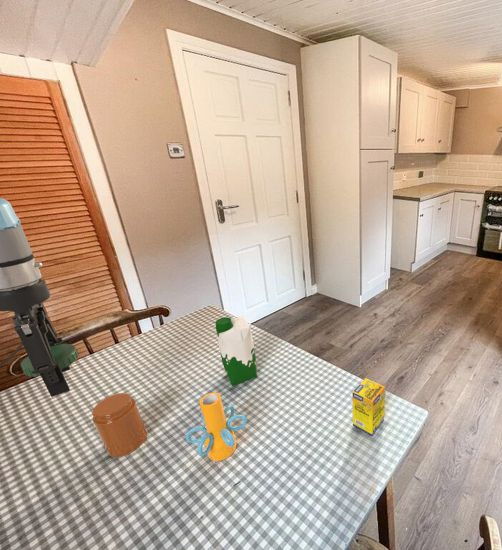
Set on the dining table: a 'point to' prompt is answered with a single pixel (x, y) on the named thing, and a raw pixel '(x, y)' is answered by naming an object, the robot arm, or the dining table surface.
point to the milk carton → (236, 349)
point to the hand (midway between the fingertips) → (61, 381)
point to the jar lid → (61, 354)
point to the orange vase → (216, 428)
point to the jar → (119, 424)
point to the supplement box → (368, 406)
